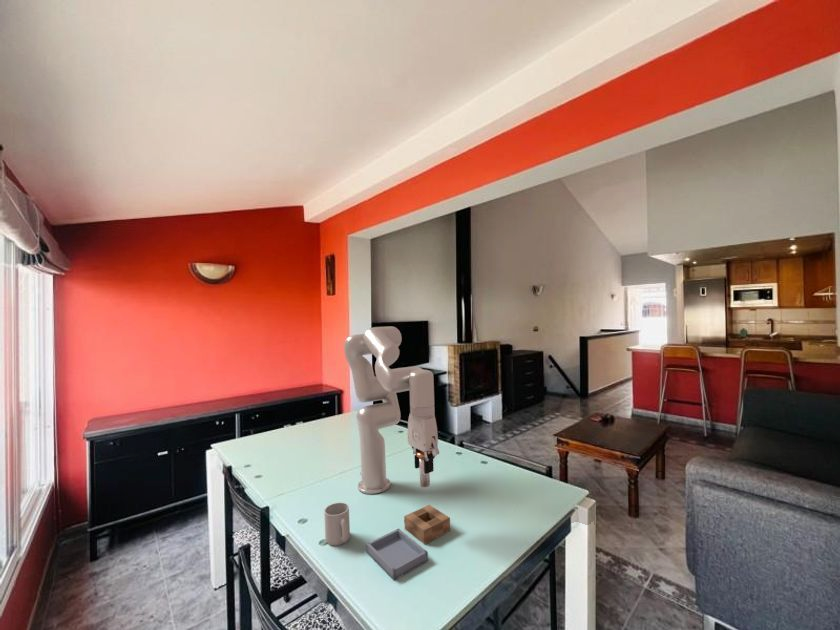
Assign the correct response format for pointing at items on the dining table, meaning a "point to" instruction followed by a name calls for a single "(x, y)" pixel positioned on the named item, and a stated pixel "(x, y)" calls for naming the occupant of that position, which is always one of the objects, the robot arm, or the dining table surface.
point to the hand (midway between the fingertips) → (424, 469)
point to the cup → (337, 523)
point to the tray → (396, 553)
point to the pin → (423, 477)
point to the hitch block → (427, 524)
